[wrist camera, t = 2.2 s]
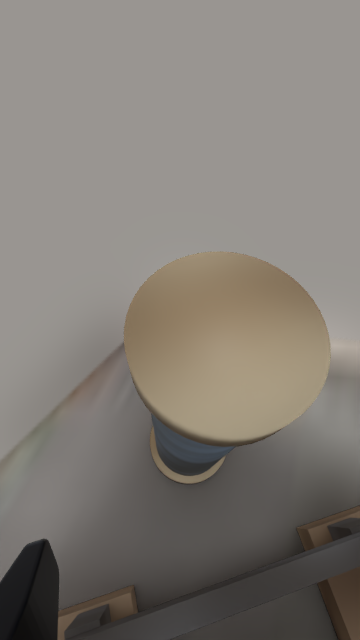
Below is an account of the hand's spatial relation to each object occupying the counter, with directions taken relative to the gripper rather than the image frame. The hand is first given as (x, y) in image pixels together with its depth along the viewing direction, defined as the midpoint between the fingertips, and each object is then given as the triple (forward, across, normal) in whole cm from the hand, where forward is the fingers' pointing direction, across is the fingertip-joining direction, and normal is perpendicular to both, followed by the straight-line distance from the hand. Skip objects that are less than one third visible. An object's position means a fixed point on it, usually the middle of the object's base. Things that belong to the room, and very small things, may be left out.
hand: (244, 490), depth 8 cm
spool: (+9, 0, +5) cm, 10 cm away
